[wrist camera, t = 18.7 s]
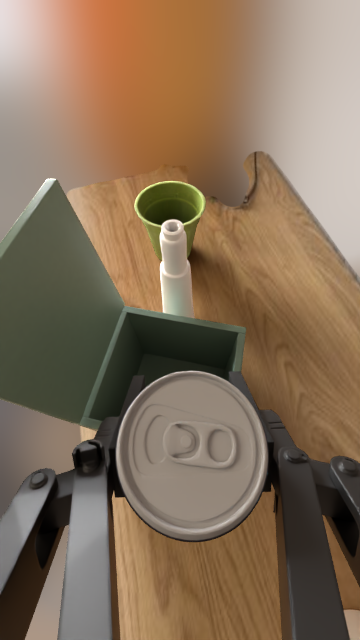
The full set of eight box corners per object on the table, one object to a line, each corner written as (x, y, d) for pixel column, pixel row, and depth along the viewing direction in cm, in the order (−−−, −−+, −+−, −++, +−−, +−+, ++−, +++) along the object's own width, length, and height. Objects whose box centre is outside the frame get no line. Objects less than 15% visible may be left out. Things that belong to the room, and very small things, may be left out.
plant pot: (207, 269, 51) (211, 223, 41) (146, 276, 51) (135, 231, 41) (198, 226, 57) (199, 176, 47) (143, 232, 56) (133, 183, 46)
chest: (229, 367, 42) (246, 327, 29) (216, 462, 35) (230, 462, 23) (141, 349, 44) (122, 305, 31) (113, 437, 37) (77, 424, 25)
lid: (57, 178, 18) (47, 178, 18) (-79, 372, 11) (-93, 369, 12) (125, 303, 31) (118, 303, 31) (79, 424, 25) (72, 423, 25)
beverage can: (157, 409, 21) (125, 353, 10) (230, 417, 20) (274, 368, 10) (144, 494, 18) (83, 538, 8) (228, 506, 18) (286, 569, 7)
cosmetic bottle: (155, 336, 45) (130, 238, 25) (170, 307, 47) (158, 200, 28) (188, 349, 43) (188, 257, 24) (202, 319, 46) (212, 215, 26)
